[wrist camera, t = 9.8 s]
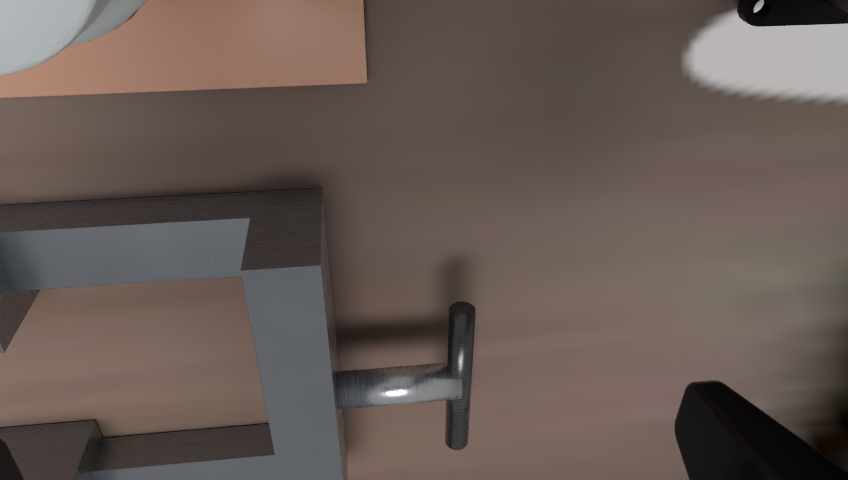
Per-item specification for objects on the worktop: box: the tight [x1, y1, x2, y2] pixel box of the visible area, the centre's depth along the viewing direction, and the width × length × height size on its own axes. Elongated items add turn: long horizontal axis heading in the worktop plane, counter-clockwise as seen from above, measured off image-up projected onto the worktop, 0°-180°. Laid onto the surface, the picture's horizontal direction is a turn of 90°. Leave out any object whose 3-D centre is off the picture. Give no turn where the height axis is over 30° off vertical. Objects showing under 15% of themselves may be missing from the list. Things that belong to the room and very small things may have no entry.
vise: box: [0, 188, 475, 480], centre depth 22 cm, size 17×12×4 cm
